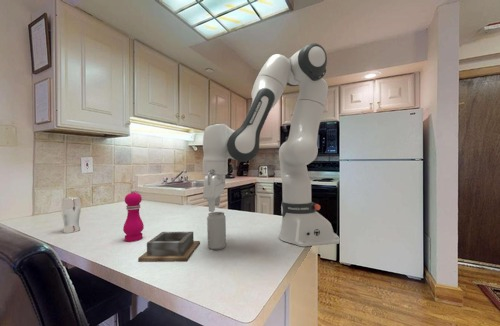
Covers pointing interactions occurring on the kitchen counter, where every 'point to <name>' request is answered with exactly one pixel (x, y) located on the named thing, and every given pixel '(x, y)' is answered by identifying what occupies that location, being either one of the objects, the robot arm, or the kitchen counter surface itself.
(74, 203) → the beer glass
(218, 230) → the beverage can
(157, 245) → the collar plate
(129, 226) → the pepper mill
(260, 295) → the kitchen counter surface
